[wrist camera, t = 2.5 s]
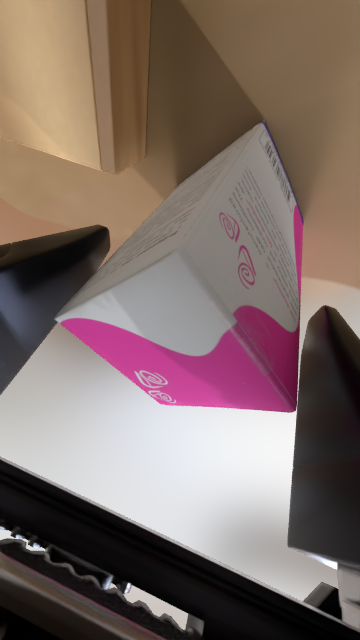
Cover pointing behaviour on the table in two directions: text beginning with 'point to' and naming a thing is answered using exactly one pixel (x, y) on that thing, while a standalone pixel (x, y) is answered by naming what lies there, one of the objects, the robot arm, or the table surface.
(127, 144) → the shelf
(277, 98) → the table surface
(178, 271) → the supplement box
